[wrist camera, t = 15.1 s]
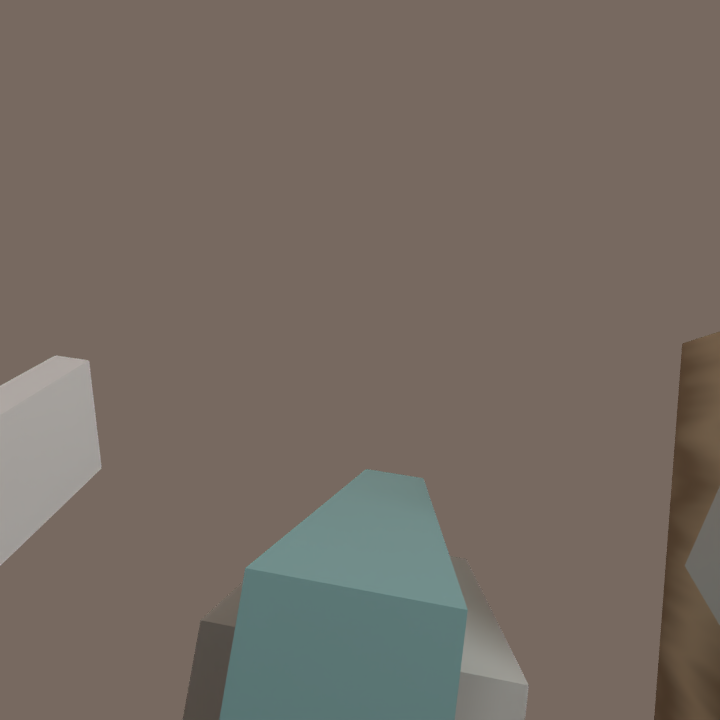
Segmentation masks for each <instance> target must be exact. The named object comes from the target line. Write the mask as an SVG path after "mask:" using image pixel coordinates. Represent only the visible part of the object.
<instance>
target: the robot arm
mask: <svg viewBox="0 0 720 720" xmlns="http://www.w3.org/2000/svg"><path fill="white" fill-rule="evenodd" d="M101 468H102V467H101V459H100V451H99V442H98V433H97V425H96V416H95V408H94V399H93V392H92V382H91V374H90V365H89V360H83V359H76V358H69V357H62V356H56V355H55V356H54V357H52V358H50V359H48V360H46V361H45V362H43V363H41V364H39V365H37V366H35V367H34V368H32V369H30V370H28V371H26V372H25V373H23V374H21V375H19V376H17V377H15V378H14V379H12V380H10V381H8V382H6V383H5V384H3V385H1V386H0V565H1V564H2V563H3V562H4V561H5V560H7V559H8V557H10V556H11V555H12V554H13V553H14V552H15V551H16V550H17V549H18V548H19V547H20V546H21V545H22V544H23V543H24V542H25V541H26V540H27V539H28V538H29V537H31V535H32V534H33V533H34V532H36V531H37V530H38V529H39V528H40V527H41V526H42V525H43V524H44V523H45V522H46V521H47V520H48V519H49V518H50V517H51V516H52V515H53V514H54V513H55V512H56V511H58V510H59V509H60V508H61V507H62V506H63V505H64V504H65V503H66V502H67V501H68V500H69V499H70V498H71V497H72V496H73V495H74V494H75V493H76V492H77V491H78V490H79V489H80V488H81V487H82V486H84V485H85V484H86V482H87V481H89V480H90V479H91V478H92V477H93V476H94V475H95V474H96V473H97V472H98V471H99V470H100V469H101ZM685 567H686V569H687V571H688V572H689V574H690V576H691V578H692V579H693V581H694V583H695V584H696V586H697V588H698V589H699V591H700V593H701V595H702V596H703V598H704V600H705V601H706V603H707V605H708V607H709V608H710V610H711V612H712V613H713V615H714V617H715V618H716V620H717V622H718V624H719V625H720V487H719V489H718V491H717V494H716V496H715V498H714V500H713V503H712V505H711V507H710V509H709V512H708V514H707V516H706V518H705V521H704V523H703V525H702V527H701V530H700V532H699V534H698V537H697V539H696V541H695V543H694V546H693V548H692V550H691V552H690V555H689V557H688V559H687V561H686V564H685Z"/></svg>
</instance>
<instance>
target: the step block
mask: <svg viewBox="0 0 720 720" xmlns="http://www.w3.org/2000/svg"><path fill="white" fill-rule="evenodd" d="M450 559H451V562H452V565H453V568H454V571H455V574H456V577H457V580H458V583H459V586H460V588H461V591H462V594H463V597H464V600H465V603H466V606H467V609H468V612H467V620H466V629H465V637H464V646H463V654H462V662H461V671H460V679H459V687H458V696H457V704H456V712H455V720H525V714H526V705H527V704H526V703H527V695H528V683H527V681H526V679H525V677H524V675H523V673H522V671H521V669H520V667H519V665H518V663H517V661H516V659H515V657H514V655H513V653H512V651H511V649H510V647H509V645H508V643H507V641H506V639H505V636H504V634H503V632H502V630H501V628H500V627H499V624H498V622H497V620H496V618H495V616H494V614H493V612H492V610H491V608H490V606H489V604H488V602H487V600H486V598H485V596H484V594H483V592H482V590H481V588H480V586H479V584H478V582H477V580H476V578H475V576H474V574H473V572H472V570H471V567H470V566H469V563H468V561H467V559H463V558H458V557H452V556H450ZM242 585H243V582H242V583H241V584H240V585H239V586H238V587H236V588H235V589H234V590H233V591H232V592H231V593H230V594H229V595H228V596H227V597H226V598H224V599H223V600H222V601H221V602H220V603H219V604H218V605H217V606H216V607H215V608H214V609H212V610H211V611H210V612H209V613H208V614H207V615H206V616H205V617H204V618H203V619H201V621H200V627H199V633H198V638H197V643H196V649H195V654H194V660H193V665H192V671H191V677H190V682H189V688H188V693H187V699H186V704H185V710H184V716H183V720H219V718H220V713H221V707H222V701H223V695H224V689H225V684H226V678H227V672H228V666H229V661H230V655H231V649H232V643H233V637H234V632H235V626H236V620H237V614H238V608H239V603H240V597H241V591H242Z"/></svg>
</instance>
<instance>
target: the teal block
mask: <svg viewBox="0 0 720 720" xmlns="http://www.w3.org/2000/svg"><path fill="white" fill-rule="evenodd" d="M467 612H468V609H467V606H466V603H465V600H464V597H463V594H462V591H461V588H460V586H459V583H458V580H457V577H456V574H455V571H454V568H453V565H452V562H451V559H450V556H449V553H448V550H447V547H446V544H445V542H444V538H443V535H442V532H441V529H440V526H439V523H438V520H437V518H436V514H435V511H434V509H433V506H432V503H431V500H430V497H429V494H428V491H427V488H426V485H425V482H424V479H423V478H418V477H412V476H406V475H399V474H393V473H387V472H381V471H375V470H369V469H366V470H364V471H363V472H362V473H361V474H360V475H358V476H357V477H356V478H355V479H353V480H352V481H351V482H350V483H349V484H347V485H346V486H345V487H344V488H343V489H342V490H340V491H339V492H338V493H336V494H335V495H334V496H333V497H332V498H330V499H329V500H328V501H327V502H326V503H324V504H323V505H322V506H321V507H319V508H318V509H317V510H316V511H314V512H313V513H312V514H311V515H310V516H308V517H307V518H306V519H305V520H304V521H302V522H301V523H300V524H299V525H297V526H296V527H295V528H294V529H293V530H291V531H290V532H289V533H288V534H286V535H285V536H284V537H283V538H282V539H280V540H279V541H278V542H277V543H275V544H274V545H273V546H272V547H271V548H269V549H268V550H267V551H266V552H264V553H263V554H262V555H261V556H260V557H258V558H257V559H256V560H255V561H254V562H252V563H251V564H250V565H249V566H247V567H246V568H245V574H244V579H243V585H242V591H241V597H240V603H239V608H238V614H237V620H236V626H235V632H234V637H233V643H232V649H231V655H230V661H229V666H228V672H227V678H226V684H225V689H224V695H223V701H222V707H221V713H220V718H219V720H455V712H456V704H457V696H458V687H459V679H460V671H461V662H462V654H463V646H464V637H465V629H466V620H467Z"/></svg>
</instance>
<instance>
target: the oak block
mask: <svg viewBox="0 0 720 720" xmlns="http://www.w3.org/2000/svg"><path fill="white" fill-rule="evenodd" d="M719 487H720V332H717V333H714V334H711V335H708V336H704V337H701V338H698V339H695V340H692V341H689V342H686V343H683V344H682V355H681V370H680V383H679V396H678V409H677V423H676V437H675V449H674V462H673V476H672V489H671V502H670V516H669V530H668V543H667V556H666V570H665V584H664V597H663V610H662V623H661V636H660V650H659V663H658V677H657V690H656V704H655V716H654V720H720V625H719V624H718V622H717V620H716V618H715V617H714V615H713V613H712V612H711V610H710V608H709V607H708V605H707V603H706V601H705V600H704V598H703V596H702V595H701V593H700V591H699V589H698V588H697V586H696V584H695V583H694V581H693V579H692V578H691V576H690V574H689V572H688V571H687V569H686V567H685V564H686V561H687V559H688V557H689V555H690V552H691V550H692V548H693V546H694V543H695V541H696V539H697V537H698V534H699V532H700V530H701V527H702V525H703V523H704V521H705V518H706V516H707V514H708V512H709V509H710V507H711V505H712V503H713V500H714V498H715V496H716V494H717V491H718V489H719Z"/></svg>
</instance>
